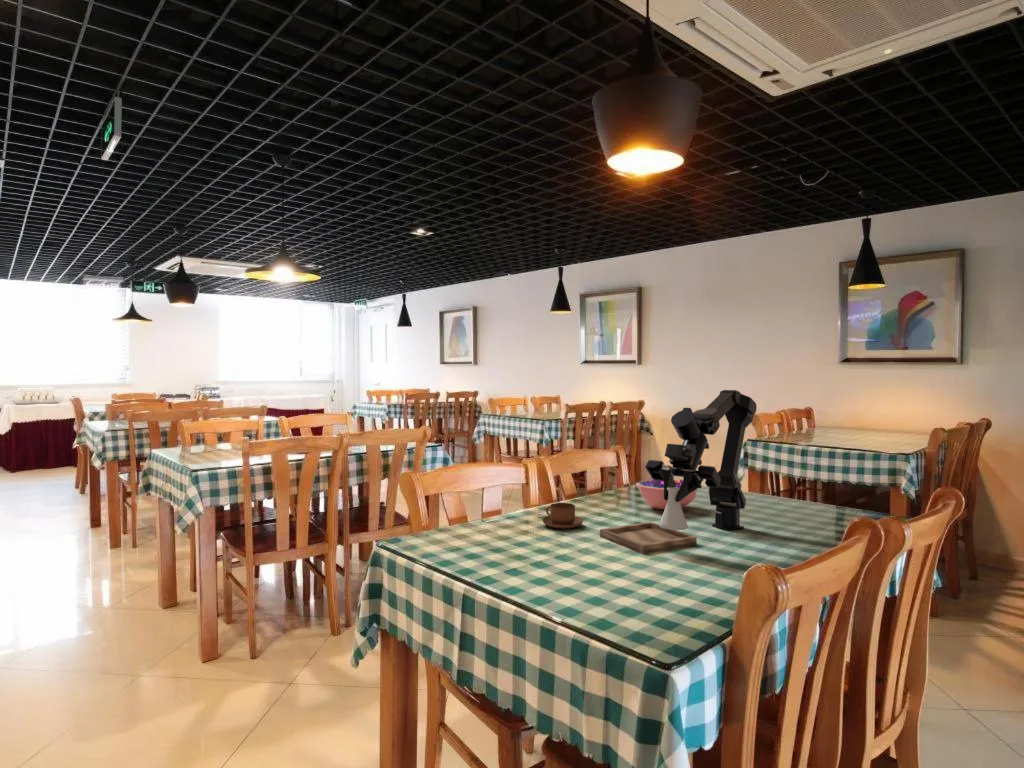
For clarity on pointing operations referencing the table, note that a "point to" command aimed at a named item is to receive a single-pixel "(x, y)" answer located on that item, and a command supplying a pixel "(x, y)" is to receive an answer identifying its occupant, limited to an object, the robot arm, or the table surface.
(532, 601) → the table surface
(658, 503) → the cell model
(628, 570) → the table surface
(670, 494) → the flask
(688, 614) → the table surface
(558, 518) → the cup and saucer
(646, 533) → the walnut tray
